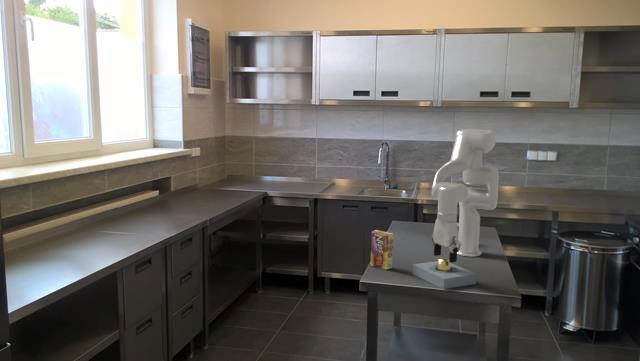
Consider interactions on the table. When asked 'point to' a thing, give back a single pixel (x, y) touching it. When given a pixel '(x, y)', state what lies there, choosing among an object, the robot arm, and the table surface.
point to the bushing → (444, 265)
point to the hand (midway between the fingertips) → (444, 258)
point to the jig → (444, 275)
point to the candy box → (382, 249)
